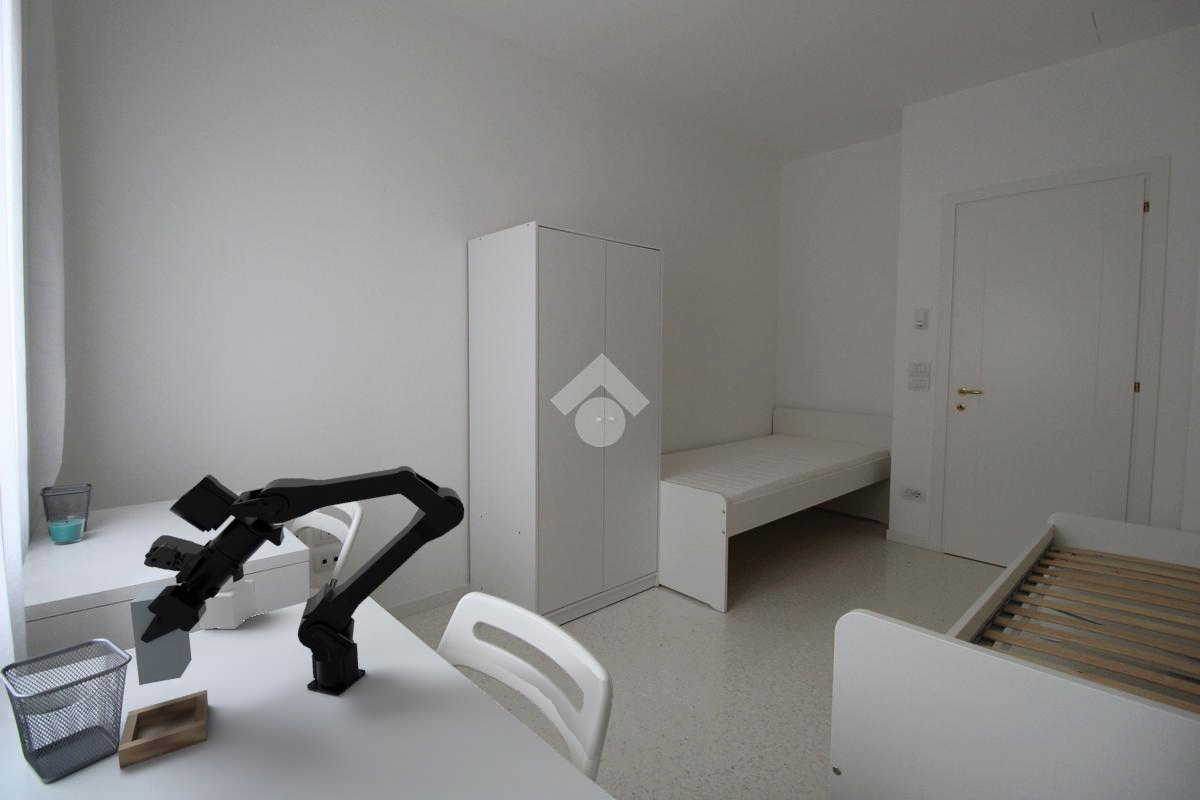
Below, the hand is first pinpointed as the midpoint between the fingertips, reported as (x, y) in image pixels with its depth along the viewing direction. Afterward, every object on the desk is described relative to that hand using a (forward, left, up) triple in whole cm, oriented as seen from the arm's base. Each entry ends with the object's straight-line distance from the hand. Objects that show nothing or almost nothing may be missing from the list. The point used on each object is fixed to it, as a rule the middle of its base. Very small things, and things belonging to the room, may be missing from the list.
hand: (150, 631), depth 84 cm
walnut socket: (-5, +2, -13) cm, 15 cm away
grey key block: (-1, -1, -7) cm, 7 cm away
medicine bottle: (+17, -25, -14) cm, 33 cm away
